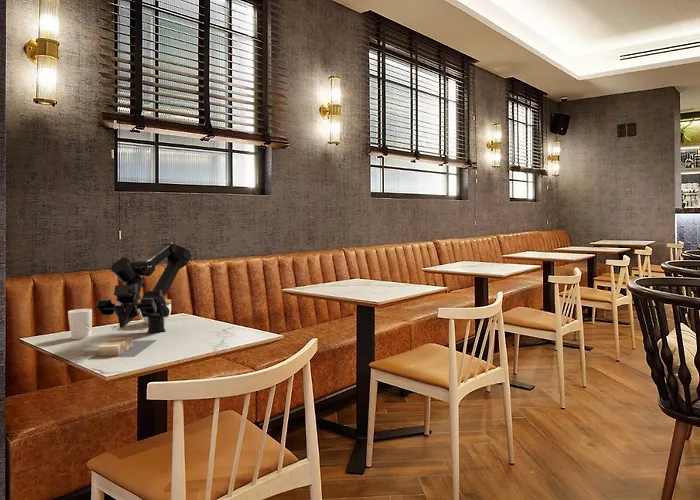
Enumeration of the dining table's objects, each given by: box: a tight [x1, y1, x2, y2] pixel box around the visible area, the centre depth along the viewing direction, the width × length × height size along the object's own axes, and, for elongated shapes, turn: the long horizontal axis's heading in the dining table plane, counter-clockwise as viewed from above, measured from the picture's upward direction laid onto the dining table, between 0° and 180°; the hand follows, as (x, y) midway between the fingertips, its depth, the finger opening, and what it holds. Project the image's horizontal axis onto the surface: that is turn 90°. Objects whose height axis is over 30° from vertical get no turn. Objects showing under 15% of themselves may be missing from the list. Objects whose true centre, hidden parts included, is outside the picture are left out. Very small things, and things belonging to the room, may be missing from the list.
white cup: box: [67, 308, 93, 340], centre depth 199 cm, size 8×8×10 cm
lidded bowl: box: [138, 298, 172, 325], centre depth 222 cm, size 13×13×11 cm
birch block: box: [97, 336, 133, 356], centre depth 174 cm, size 3×6×12 cm
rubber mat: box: [89, 339, 158, 359], centre depth 178 cm, size 22×14×1 cm, turn 2°
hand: (121, 327), depth 179 cm, fingers closed
